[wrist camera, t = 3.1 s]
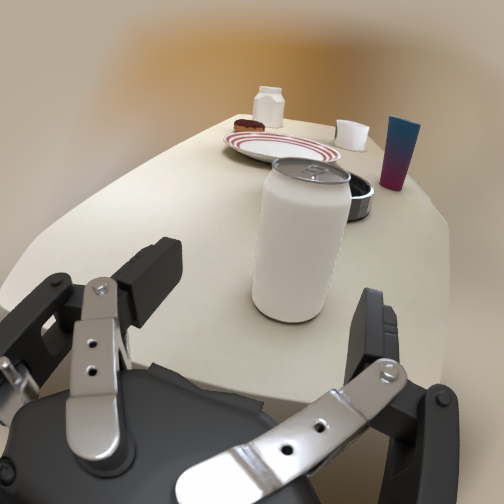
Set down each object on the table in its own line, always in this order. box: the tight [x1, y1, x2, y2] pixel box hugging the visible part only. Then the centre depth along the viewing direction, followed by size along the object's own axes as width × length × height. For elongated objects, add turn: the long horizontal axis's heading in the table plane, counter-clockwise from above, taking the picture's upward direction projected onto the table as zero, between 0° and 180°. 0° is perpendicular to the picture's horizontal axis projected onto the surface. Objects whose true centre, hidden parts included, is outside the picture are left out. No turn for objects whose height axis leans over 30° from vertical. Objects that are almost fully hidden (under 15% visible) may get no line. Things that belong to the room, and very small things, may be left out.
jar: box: [252, 86, 285, 128], centre depth 105 cm, size 12×10×15 cm
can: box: [252, 157, 352, 323], centre depth 24 cm, size 6×6×12 cm
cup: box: [380, 115, 420, 191], centre depth 56 cm, size 7×7×15 cm
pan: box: [347, 171, 374, 221], centre depth 47 cm, size 16×16×4 cm
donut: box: [234, 119, 265, 132], centre depth 91 cm, size 10×10×4 cm
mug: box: [334, 120, 369, 152], centre depth 89 cm, size 13×10×8 cm
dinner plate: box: [223, 132, 341, 163], centre depth 69 cm, size 27×27×3 cm
